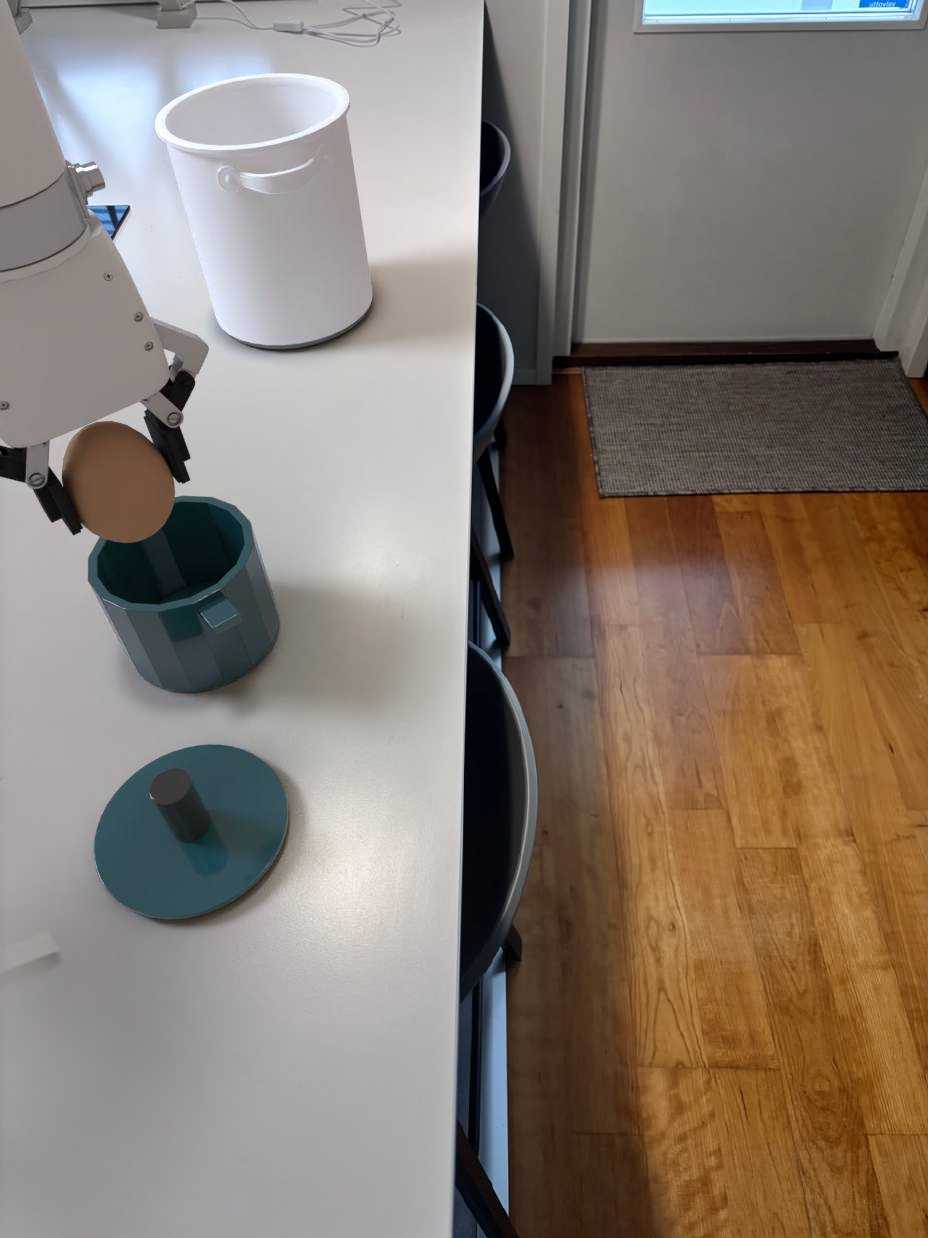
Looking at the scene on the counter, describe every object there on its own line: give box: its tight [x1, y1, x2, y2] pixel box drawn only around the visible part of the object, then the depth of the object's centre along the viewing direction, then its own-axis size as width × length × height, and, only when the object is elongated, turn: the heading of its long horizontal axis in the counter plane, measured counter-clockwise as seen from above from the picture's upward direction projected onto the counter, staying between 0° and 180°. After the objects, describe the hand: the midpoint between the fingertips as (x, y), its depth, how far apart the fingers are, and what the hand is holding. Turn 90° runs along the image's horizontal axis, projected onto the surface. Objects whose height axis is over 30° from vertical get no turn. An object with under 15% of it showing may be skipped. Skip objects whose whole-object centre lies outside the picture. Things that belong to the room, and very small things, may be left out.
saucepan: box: [87, 495, 280, 693], centre depth 82 cm, size 14×19×10 cm
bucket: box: [154, 72, 373, 350], centre depth 114 cm, size 26×22×24 cm
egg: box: [61, 420, 176, 543], centre depth 59 cm, size 6×6×8 cm
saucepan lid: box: [93, 744, 289, 920], centre depth 70 cm, size 15×15×7 cm
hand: (123, 494), depth 60 cm, fingers closed on egg, 6 cm apart
